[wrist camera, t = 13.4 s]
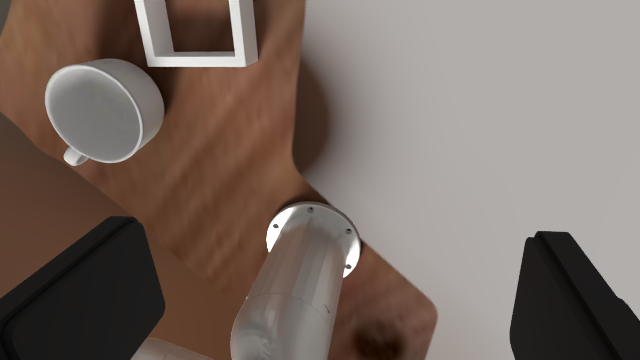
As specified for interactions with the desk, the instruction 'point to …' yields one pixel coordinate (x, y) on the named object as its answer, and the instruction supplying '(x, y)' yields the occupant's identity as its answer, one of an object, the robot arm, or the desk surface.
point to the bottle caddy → (163, 54)
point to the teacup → (103, 109)
